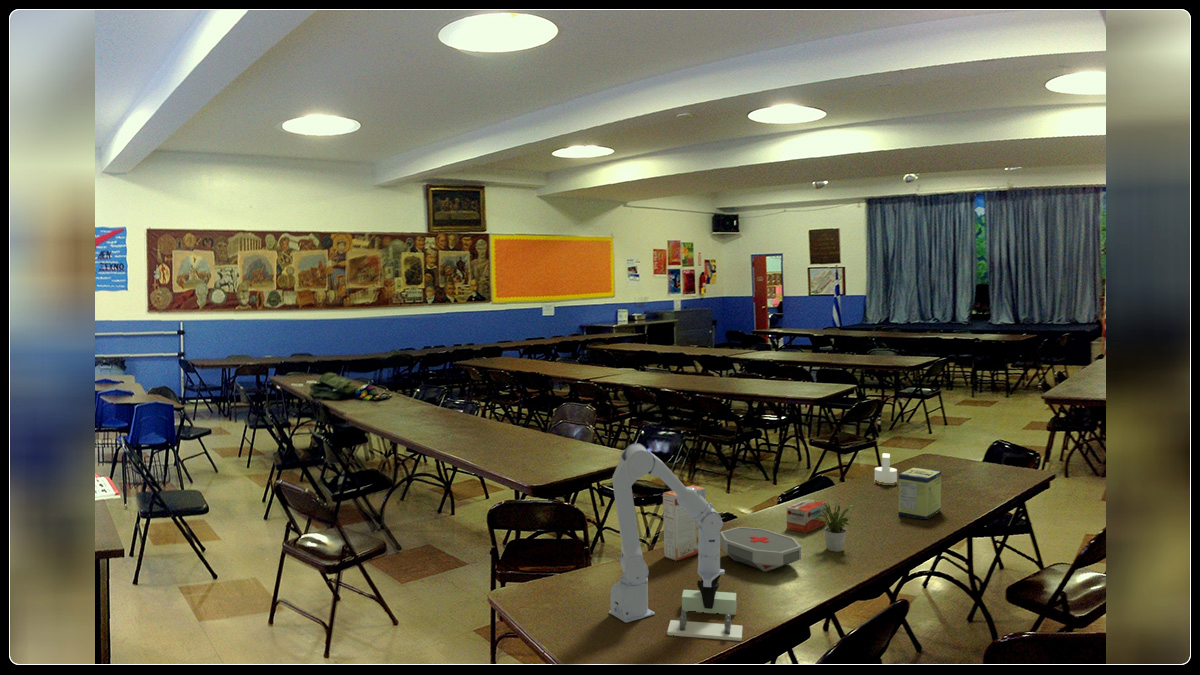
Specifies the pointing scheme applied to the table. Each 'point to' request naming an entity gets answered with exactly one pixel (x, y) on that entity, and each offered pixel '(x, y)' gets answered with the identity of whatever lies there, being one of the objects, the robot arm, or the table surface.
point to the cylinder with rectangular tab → (886, 471)
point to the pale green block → (722, 604)
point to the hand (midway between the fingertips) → (709, 603)
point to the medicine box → (805, 516)
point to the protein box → (919, 493)
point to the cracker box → (679, 528)
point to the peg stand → (705, 629)
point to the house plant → (835, 528)
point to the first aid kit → (760, 547)
